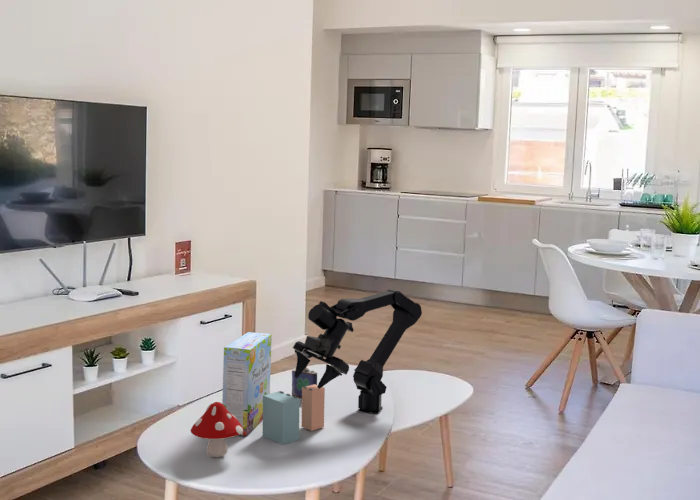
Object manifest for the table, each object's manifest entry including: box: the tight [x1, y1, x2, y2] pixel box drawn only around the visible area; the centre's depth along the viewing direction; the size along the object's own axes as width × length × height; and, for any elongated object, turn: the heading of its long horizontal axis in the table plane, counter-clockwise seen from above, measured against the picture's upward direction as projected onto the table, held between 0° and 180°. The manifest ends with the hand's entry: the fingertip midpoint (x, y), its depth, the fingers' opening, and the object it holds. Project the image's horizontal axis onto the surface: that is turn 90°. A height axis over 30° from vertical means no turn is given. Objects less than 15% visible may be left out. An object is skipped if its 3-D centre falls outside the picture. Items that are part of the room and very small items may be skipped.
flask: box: [291, 365, 318, 399], centre depth 270 cm, size 9×3×11 cm, turn 65°
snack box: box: [221, 331, 272, 437], centre depth 243 cm, size 22×9×26 cm, turn 168°
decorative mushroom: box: [190, 401, 243, 458], centre depth 218 cm, size 14×14×15 cm
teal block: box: [262, 390, 301, 446], centre depth 232 cm, size 6×9×12 cm, turn 45°
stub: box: [301, 384, 326, 432], centre depth 241 cm, size 5×4×12 cm
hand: (306, 382), depth 242 cm, fingers open, 9 cm apart
